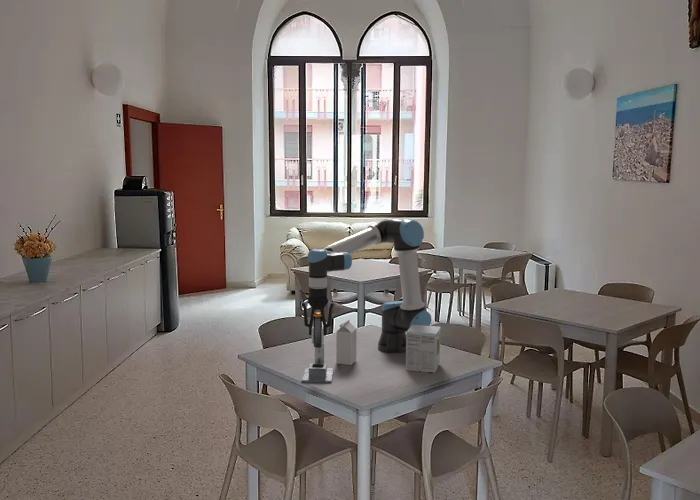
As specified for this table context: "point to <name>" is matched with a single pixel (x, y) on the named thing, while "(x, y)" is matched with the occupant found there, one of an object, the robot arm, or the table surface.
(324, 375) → the post on square base
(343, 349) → the milk carton
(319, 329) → the grey cylinder orange top
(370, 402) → the table surface
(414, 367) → the supplement box
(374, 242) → the robot arm
